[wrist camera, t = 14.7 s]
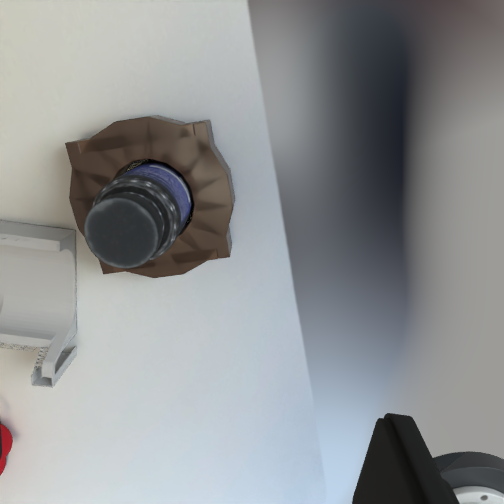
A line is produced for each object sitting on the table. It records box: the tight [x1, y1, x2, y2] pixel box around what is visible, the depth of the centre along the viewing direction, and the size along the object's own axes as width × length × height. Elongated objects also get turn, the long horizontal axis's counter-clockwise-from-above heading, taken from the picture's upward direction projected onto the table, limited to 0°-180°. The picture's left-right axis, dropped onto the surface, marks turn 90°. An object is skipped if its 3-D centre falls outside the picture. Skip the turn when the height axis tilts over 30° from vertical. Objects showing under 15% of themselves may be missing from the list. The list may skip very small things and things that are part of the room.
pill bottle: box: [84, 161, 194, 268], centre depth 31 cm, size 6×6×11 cm
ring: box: [65, 116, 235, 278], centre depth 35 cm, size 13×13×3 cm
